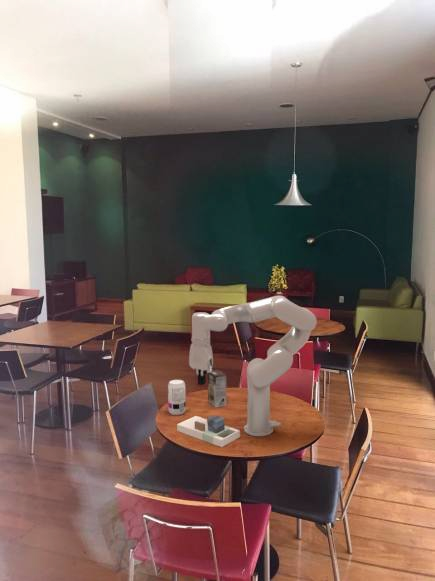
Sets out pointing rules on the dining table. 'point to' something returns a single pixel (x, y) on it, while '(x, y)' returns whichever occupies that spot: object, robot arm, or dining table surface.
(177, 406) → the supplement can
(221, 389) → the coffee box
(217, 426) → the block
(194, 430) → the board
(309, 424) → the dining table surface
